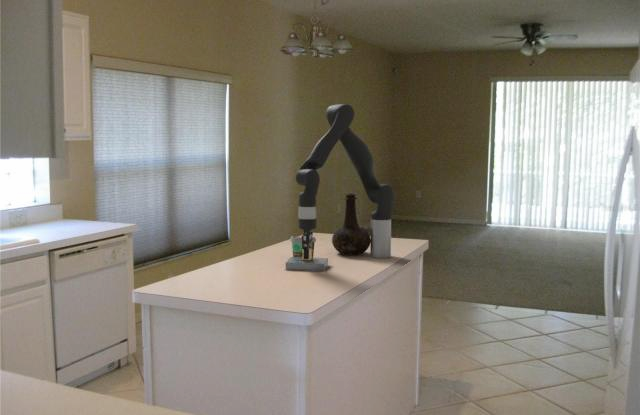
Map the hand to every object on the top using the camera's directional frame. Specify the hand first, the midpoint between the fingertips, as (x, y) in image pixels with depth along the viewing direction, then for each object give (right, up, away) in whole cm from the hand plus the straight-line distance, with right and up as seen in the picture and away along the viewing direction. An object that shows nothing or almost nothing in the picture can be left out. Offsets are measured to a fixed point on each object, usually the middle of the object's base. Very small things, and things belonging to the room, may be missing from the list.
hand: (307, 257), depth 266 cm
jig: (0, -4, 0) cm, 4 cm away
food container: (-3, -2, +19) cm, 19 cm away
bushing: (0, -4, 0) cm, 4 cm away
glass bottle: (+20, -1, +33) cm, 38 cm away
